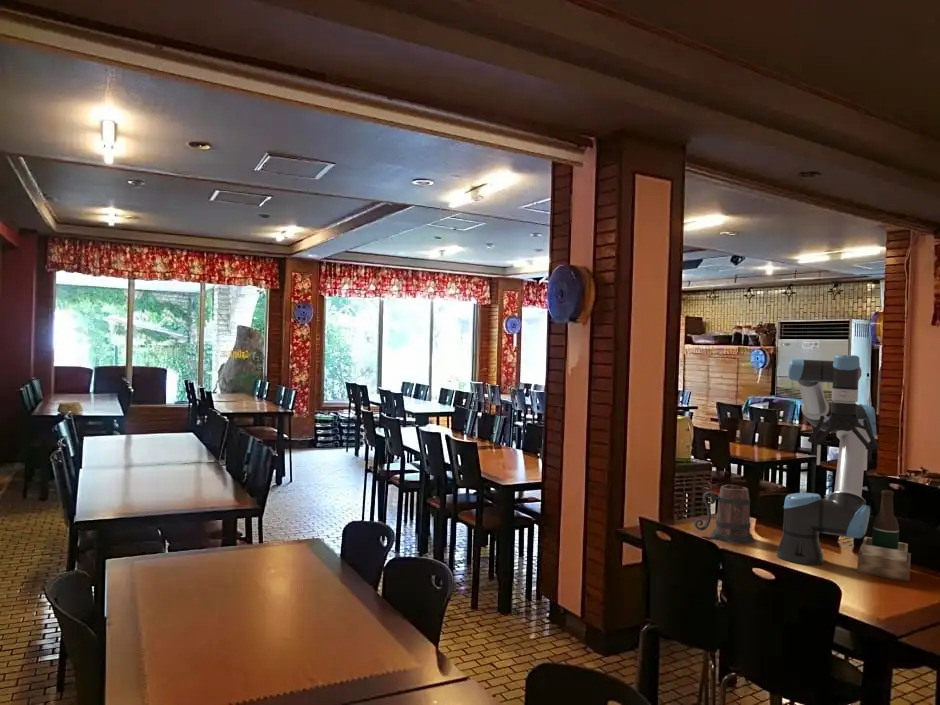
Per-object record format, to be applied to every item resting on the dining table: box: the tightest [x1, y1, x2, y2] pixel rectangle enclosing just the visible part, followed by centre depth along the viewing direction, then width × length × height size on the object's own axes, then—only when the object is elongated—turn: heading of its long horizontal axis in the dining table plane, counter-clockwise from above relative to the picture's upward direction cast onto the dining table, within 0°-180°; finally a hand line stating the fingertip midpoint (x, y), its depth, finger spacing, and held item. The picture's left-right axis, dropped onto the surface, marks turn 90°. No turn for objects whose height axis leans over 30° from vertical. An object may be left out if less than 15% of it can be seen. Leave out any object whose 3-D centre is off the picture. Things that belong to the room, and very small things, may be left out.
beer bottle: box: [871, 489, 900, 550], centre depth 239 cm, size 8×8×24 cm
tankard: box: [693, 484, 756, 544], centre depth 276 cm, size 24×17×20 cm
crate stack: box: [856, 536, 912, 583], centre depth 239 cm, size 15×15×9 cm
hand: (841, 467), depth 227 cm, fingers open, 13 cm apart
